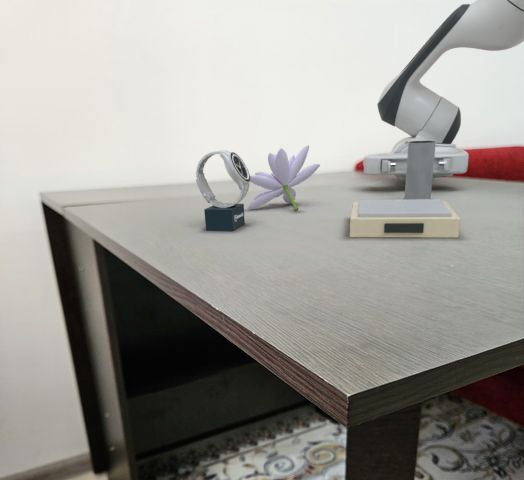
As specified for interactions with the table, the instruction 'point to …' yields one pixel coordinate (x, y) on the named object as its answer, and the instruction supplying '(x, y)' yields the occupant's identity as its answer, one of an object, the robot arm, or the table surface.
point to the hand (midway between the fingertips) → (417, 166)
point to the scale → (404, 219)
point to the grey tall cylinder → (419, 169)
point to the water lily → (282, 177)
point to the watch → (221, 213)
